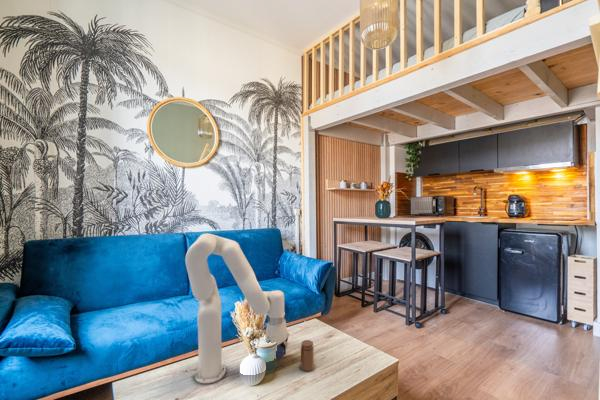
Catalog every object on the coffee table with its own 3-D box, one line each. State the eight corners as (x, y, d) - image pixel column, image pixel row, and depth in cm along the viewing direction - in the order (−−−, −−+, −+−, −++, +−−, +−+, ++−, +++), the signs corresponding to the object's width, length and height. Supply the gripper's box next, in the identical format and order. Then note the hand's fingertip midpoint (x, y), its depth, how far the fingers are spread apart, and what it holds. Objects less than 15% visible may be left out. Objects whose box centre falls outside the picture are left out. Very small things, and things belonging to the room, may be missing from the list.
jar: (303, 372, 120) (303, 347, 120) (299, 364, 125) (298, 340, 125) (315, 369, 122) (315, 344, 122) (310, 362, 127) (310, 338, 127)
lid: (284, 358, 124) (283, 353, 124) (269, 358, 124) (269, 353, 124) (284, 349, 131) (284, 345, 130) (270, 350, 131) (270, 345, 130)
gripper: (283, 310, 136) (284, 346, 136) (256, 323, 123) (257, 363, 123) (295, 314, 131) (295, 351, 131) (268, 328, 118) (269, 369, 118)
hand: (277, 356), depth 127 cm, fingers closed on lid, 6 cm apart
